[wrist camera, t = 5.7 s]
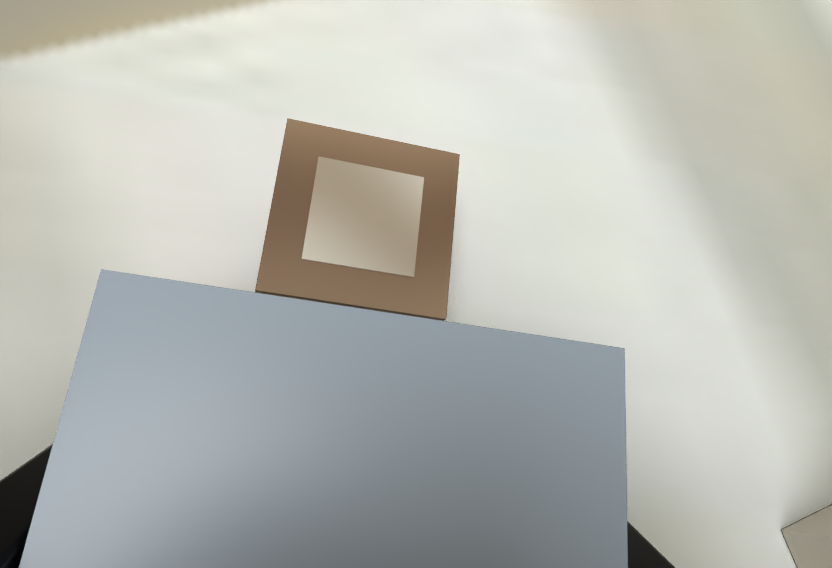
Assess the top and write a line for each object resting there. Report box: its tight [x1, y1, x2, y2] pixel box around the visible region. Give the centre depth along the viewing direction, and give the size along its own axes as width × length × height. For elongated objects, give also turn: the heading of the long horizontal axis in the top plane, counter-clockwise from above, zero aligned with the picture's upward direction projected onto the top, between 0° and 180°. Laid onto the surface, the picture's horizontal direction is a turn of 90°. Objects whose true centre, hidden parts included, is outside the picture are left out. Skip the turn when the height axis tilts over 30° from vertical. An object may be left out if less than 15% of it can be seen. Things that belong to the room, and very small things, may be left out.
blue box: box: [19, 269, 628, 568], centre depth 10 cm, size 7×7×9 cm
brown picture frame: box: [255, 119, 460, 321], centre depth 14 cm, size 4×4×4 cm
